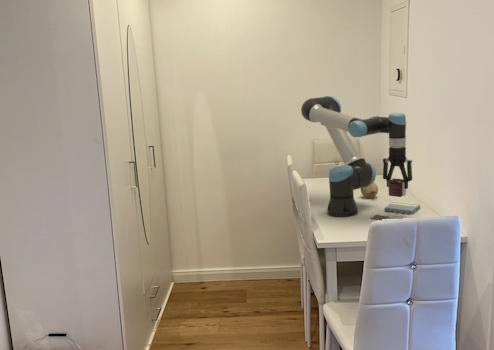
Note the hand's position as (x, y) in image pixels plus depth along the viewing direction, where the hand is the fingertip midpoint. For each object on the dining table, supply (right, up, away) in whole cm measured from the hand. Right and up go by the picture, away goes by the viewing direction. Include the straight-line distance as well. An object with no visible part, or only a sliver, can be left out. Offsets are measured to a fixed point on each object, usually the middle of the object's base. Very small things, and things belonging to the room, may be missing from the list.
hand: (397, 194), depth 232 cm
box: (0, -1, 0) cm, 1 cm away
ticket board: (+6, -8, +11) cm, 15 cm away
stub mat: (-8, -12, +1) cm, 14 cm away
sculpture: (-3, -4, +38) cm, 38 cm away
